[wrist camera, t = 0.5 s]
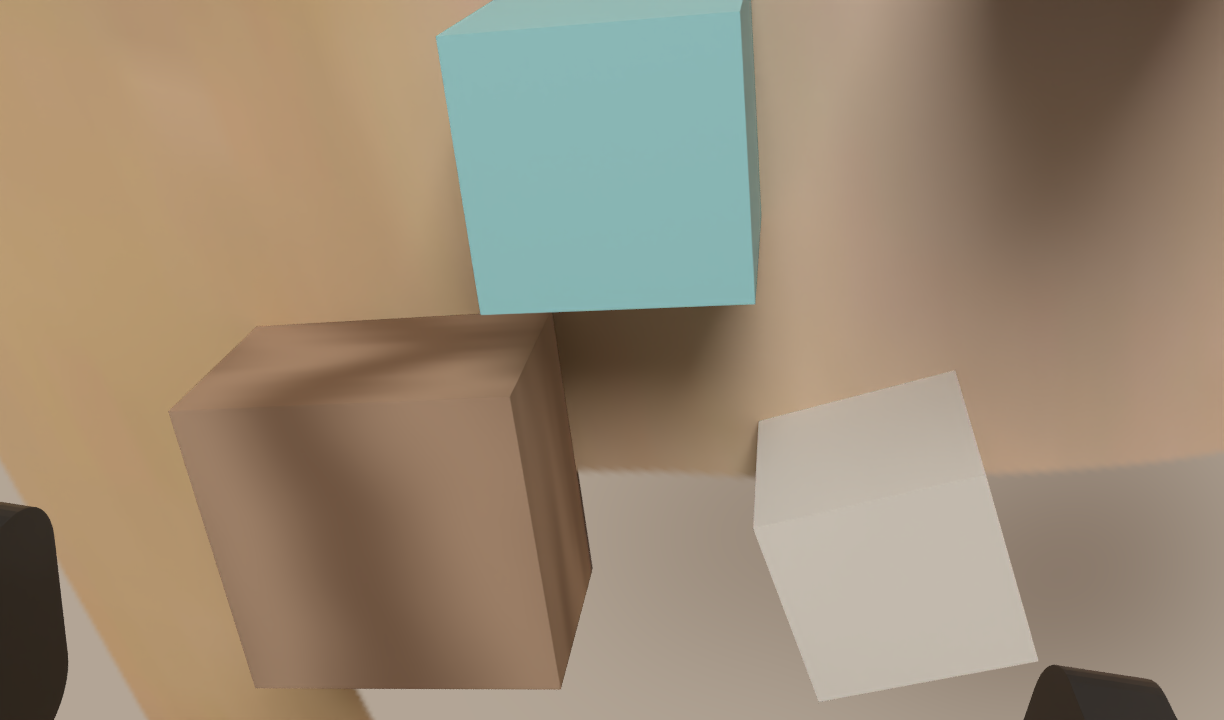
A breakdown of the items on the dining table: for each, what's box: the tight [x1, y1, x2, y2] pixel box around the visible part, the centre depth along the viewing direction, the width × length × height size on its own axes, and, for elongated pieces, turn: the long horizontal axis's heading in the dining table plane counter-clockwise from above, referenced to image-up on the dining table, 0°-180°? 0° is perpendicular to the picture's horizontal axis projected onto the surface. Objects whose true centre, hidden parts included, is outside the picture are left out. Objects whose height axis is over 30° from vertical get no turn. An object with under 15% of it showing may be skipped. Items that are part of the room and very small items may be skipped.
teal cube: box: [436, 0, 761, 315], centre depth 24 cm, size 6×6×6 cm
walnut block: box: [168, 312, 593, 689], centre depth 29 cm, size 8×8×5 cm
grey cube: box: [753, 370, 1038, 702], centre depth 27 cm, size 5×5×5 cm
